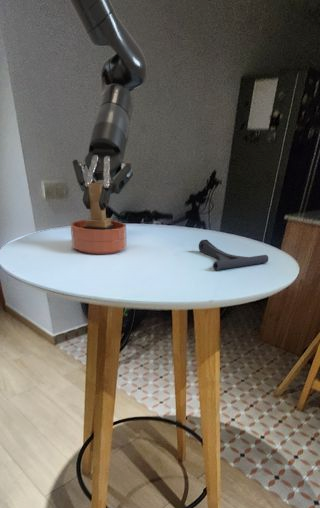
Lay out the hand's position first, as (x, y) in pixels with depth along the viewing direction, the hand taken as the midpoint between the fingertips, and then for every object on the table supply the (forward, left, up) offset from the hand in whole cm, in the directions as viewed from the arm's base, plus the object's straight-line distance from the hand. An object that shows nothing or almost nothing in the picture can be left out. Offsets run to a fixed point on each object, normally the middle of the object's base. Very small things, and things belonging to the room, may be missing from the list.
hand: (94, 206), depth 78 cm
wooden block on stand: (0, +2, -5) cm, 6 cm away
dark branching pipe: (+28, +3, -9) cm, 30 cm away
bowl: (0, +2, -9) cm, 9 cm away
